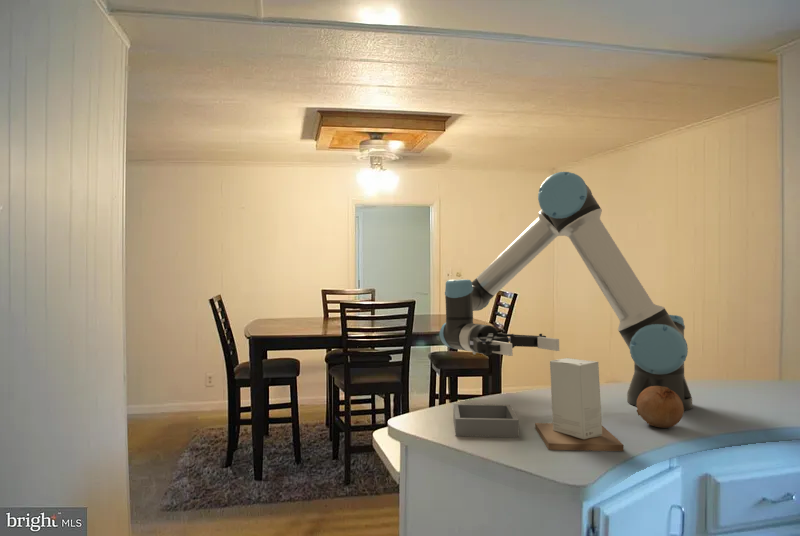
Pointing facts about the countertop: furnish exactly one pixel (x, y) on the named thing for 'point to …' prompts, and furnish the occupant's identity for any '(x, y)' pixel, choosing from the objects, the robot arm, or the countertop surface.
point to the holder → (485, 420)
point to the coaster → (577, 440)
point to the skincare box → (576, 397)
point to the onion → (660, 406)
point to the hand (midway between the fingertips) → (535, 347)
